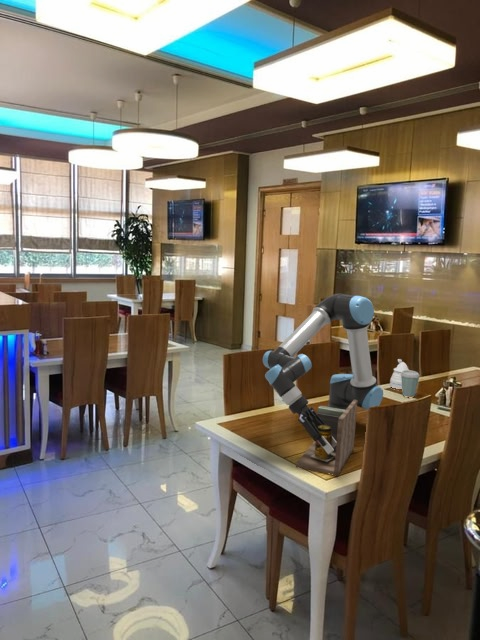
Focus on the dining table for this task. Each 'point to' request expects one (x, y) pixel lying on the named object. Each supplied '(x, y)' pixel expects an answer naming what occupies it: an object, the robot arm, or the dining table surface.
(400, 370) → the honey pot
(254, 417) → the dining table surface
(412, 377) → the disposable coffee cup
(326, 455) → the condiment
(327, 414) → the wooden l-shaped bookend
